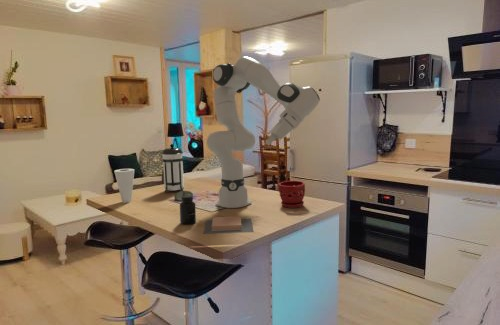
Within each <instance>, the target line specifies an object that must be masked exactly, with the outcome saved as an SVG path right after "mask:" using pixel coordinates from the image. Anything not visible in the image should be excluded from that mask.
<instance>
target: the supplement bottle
mask: <svg viewBox="0 0 500 325" xmlns="http://www.w3.org/2000/svg"><path fill="white" fill-rule="evenodd" d="M193 197H194V195H193V196H191V195H185V196H182V201H180V203H179V216H180V217H179V221H180V222H179V223H180V224H181V225H185V226H189V225H194V224H195V223H196V222H197V221H196V220H197V215H196V211H197V210H196V203H195V201H193V200H194V198H193Z"/></svg>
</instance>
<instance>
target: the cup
mask: <svg viewBox="0 0 500 325" xmlns="http://www.w3.org/2000/svg"><path fill="white" fill-rule="evenodd" d="M135 170H136V169H134V168H120V169H115V170H114V171H113V172H114V175H115V180H116V182H117V186H118V191H119V195H120V199H121V202H122V204H126V203H131V202H132V200H133V198H132V196H133V188H134V177H135Z"/></svg>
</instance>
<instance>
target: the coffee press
mask: <svg viewBox="0 0 500 325" xmlns="http://www.w3.org/2000/svg"><path fill="white" fill-rule="evenodd" d="M183 154H184V152H183V150H182V149H181V148H179V147H175V145H174V144H173V143H170V145H169V147H168V148H164V149H163V150H162V152H161V155H162V159H161V160H162V168H163V169H162V170H163V184H164V193H165V194H168V193H169V191H170V192H171V191H178V192H180V191H184V189H185V185H184V184H185V183H184V182H185V181H184V179H185V178H184V165H183V164H184V163H183V160H184V157H183Z"/></svg>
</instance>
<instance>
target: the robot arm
mask: <svg viewBox="0 0 500 325" xmlns="http://www.w3.org/2000/svg"><path fill="white" fill-rule="evenodd" d="M212 80H213V82H214V83H215V84H216V85H218V86H217V87H215V89H214V91H213V93H214V96H213V97H214V107H215V113H216V120H217V123H218V124H220V125H222V126H223V127H225V129H227V130H218V131H214V132H210V133H209V135H208V136H207V139H206V146H207V148H208V150H210V151H211V153H213V154H214V155H215V156H216V157H217V158H218V160H219V162H220V163H219V164H220V167H221V180H220V185H221V187H220V188H219V190H218V200H217V201H216V202H215V206H217V207H222V208H228V209H236V208H238V209H239V208H243V207H245V206H248V205H252V202H251V200H250V199H248V197H249V196H248V188H247V187H246V186H245V177H244V165H243V164H244V163H243V162H242V161H241V160H240V159H239V158H236V157H234V155H233V153H235V152H244V151H248V150H251V149H253V148H254V146H255V144H256V136H255V135H254V132H252V131H251V130H249V129H248V128H246V127H245V125H244V124H243V123H242V121H241V119H240V116H239V113H238V108H237V102H236V98H235V96H236V93H237V94H241V93H242V92H243V91H245V90H247V89H248V88H249V87H250V85H251V86H253V87H255V88H256V89H258V90H261V91H262V92H263V93H266V94H267V95H269V97H271V98H273V99H274V100H275V101H277V102H278V103H280V104H281V105H282V106H283V107H284V110H283V111H282V112H281V113H280V114H279V118H280V119H278V122H277V123H276V124H275V125H274V126H273V127H272V128H271V129H270V131H269V133H270V135H269V137H268V138H267V139H266V140H265V143H266V144H267V145H268V146H269V145H271V144H272V143H273V142H274V141H276V140H277V139H278V140H282V139H284V138H285V137H286V136H287V135H288V134H289V133H290V132H292V131H295V130H296V129H297V128H298V127H299V125H301V124H302V122H303V121H304V120H305V118H306V117H308V116H309V115H310V114H311V113H312V112H313V111H314V110H315V109H316V107H317V106H318V104H319V103H320V101H321V99H320V96H319V94H318V92H317V91H316V90H315V88H313V87H312V86H301V85H296V84H295V83H292V82H286V83H284V84H282V85H280V84H279V83H278V82H277V80H276V78H275V77H274V76H273V74H272V73H271V71H270V69H269V68H268V67H267V66H266V65H265V64H263V63H262V62H260V61H259V60H257V59H255V58H253V57H249V56H242V57H240V58H238V59H237V61H236V63H235V64H231V63H230V62H229V63H221V64H218V65H216V66H215V67H214V68H213V71H212Z"/></svg>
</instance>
